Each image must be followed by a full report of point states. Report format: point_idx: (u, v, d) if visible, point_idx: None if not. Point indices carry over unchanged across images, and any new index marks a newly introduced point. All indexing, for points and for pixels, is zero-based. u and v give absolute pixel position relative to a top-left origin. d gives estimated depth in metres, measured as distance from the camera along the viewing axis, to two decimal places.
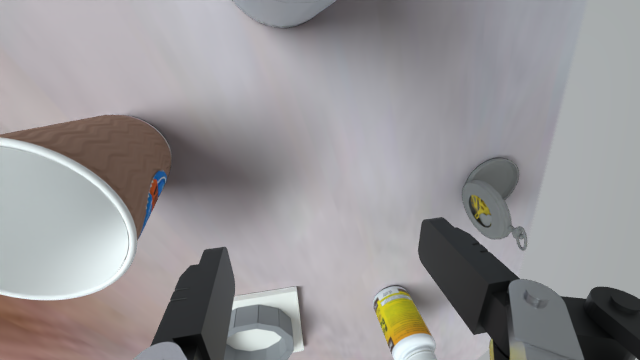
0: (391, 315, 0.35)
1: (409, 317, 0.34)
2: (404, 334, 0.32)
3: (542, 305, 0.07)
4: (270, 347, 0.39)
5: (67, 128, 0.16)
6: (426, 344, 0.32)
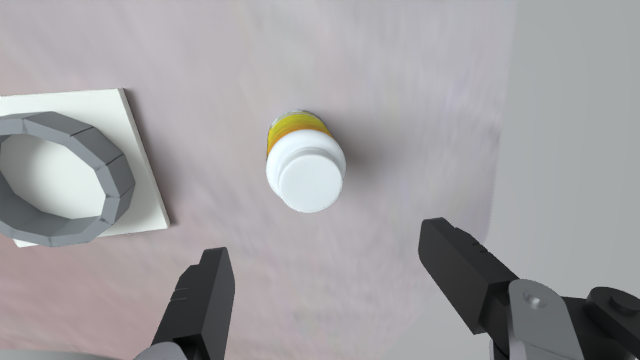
0: (277, 128, 0.20)
1: (303, 122, 0.19)
2: (284, 134, 0.18)
3: (542, 305, 0.07)
4: None
5: None
6: (321, 146, 0.17)
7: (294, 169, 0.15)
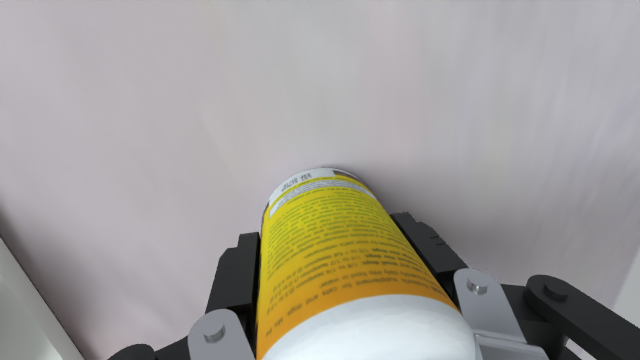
0: (283, 235, 0.08)
1: (351, 232, 0.07)
2: (308, 303, 0.06)
3: (480, 291, 0.07)
4: None
5: None
6: (432, 359, 0.05)
7: None
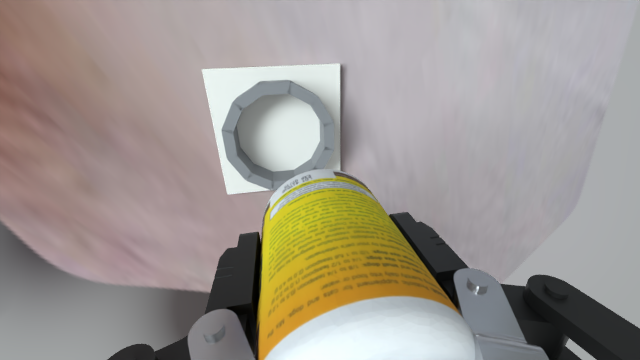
0: (284, 237, 0.08)
1: (352, 233, 0.07)
2: (309, 304, 0.06)
3: (480, 291, 0.07)
4: (299, 167, 0.30)
5: None
6: None
7: None
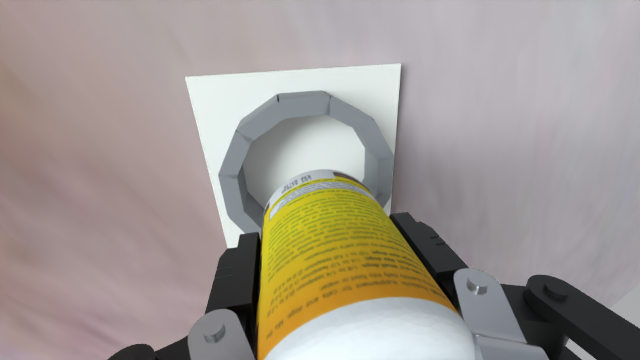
0: (283, 237, 0.08)
1: (352, 234, 0.07)
2: (308, 305, 0.06)
3: (480, 291, 0.07)
4: None
5: None
6: None
7: None
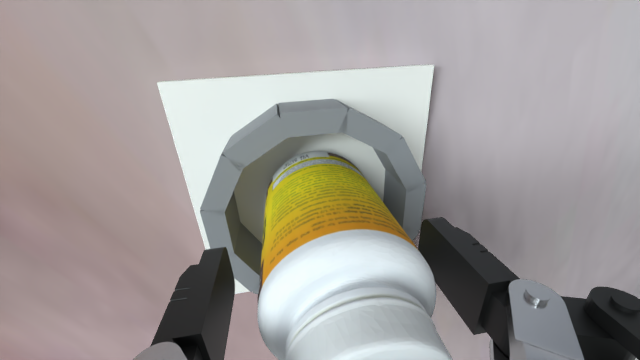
0: (284, 198, 0.10)
1: (338, 193, 0.09)
2: (302, 236, 0.08)
3: (542, 305, 0.07)
4: None
5: None
6: (392, 274, 0.07)
7: None
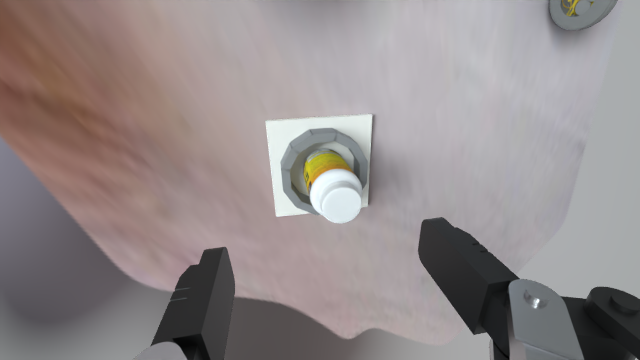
0: (315, 164, 0.29)
1: (333, 161, 0.29)
2: (323, 171, 0.27)
3: (542, 305, 0.07)
4: None
5: None
6: (347, 180, 0.26)
7: (333, 196, 0.25)
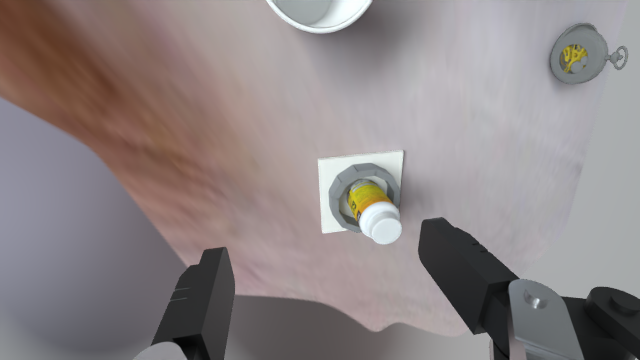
0: (360, 195, 0.37)
1: (376, 193, 0.36)
2: (370, 203, 0.34)
3: (542, 305, 0.07)
4: None
5: None
6: (390, 210, 0.34)
7: (380, 224, 0.32)
